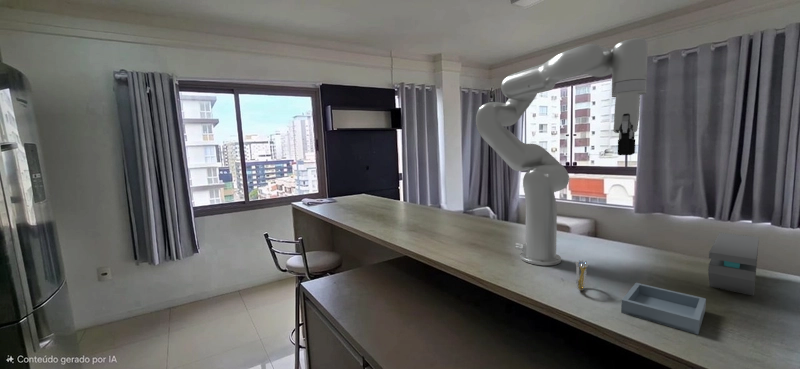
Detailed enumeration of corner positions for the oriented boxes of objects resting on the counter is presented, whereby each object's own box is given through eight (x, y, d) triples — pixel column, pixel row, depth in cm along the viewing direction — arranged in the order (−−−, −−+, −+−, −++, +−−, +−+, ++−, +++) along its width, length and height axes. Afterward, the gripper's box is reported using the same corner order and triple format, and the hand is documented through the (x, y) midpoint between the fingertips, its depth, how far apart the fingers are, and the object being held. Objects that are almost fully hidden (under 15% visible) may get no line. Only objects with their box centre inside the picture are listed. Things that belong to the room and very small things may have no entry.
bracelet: (584, 296, 83) (584, 265, 82) (570, 292, 85) (571, 263, 84) (591, 287, 88) (592, 258, 87) (578, 284, 90) (579, 256, 89)
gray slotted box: (752, 305, 76) (756, 259, 74) (706, 294, 81) (709, 252, 80) (755, 275, 92) (759, 237, 91) (717, 268, 98) (719, 232, 97)
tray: (621, 312, 74) (621, 299, 74) (635, 294, 83) (635, 282, 83) (698, 334, 65) (699, 320, 64) (705, 311, 73) (706, 298, 73)
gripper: (615, 95, 96) (613, 153, 97) (607, 87, 82) (606, 155, 84) (647, 91, 91) (644, 153, 93) (645, 82, 77) (642, 155, 79)
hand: (626, 154), depth 88 cm, fingers open, 9 cm apart
